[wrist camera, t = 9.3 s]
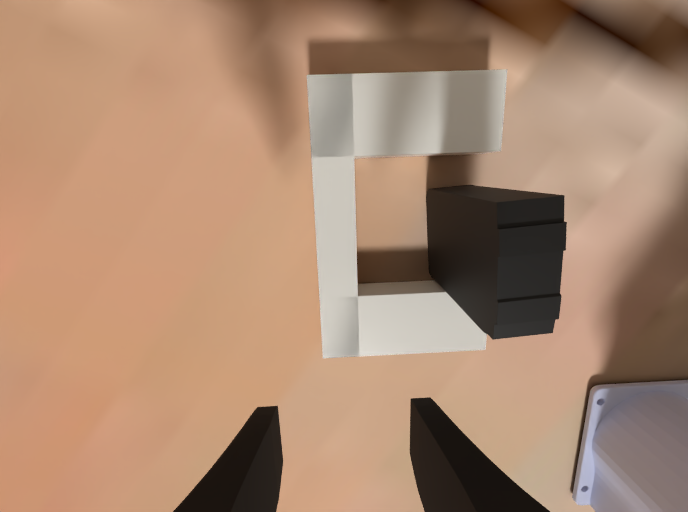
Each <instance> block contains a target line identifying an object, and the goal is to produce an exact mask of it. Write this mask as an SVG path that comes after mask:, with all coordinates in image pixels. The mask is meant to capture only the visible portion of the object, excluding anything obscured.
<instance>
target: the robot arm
mask: <svg viewBox="0 0 688 512" xmlns="http://www.w3.org/2000/svg"><path fill="white" fill-rule="evenodd" d="M598 399H599V400H598ZM410 456H411V461H412V466H413V470H414V475H415V479H416V484H417V488H418V492H419V495H420V498H421V501H422V504H423V507H424V510H425V512H550V511H549V510H547V509H546V508H545V507H544V506H542V505H541V504H540V503H539V502H537V501H536V500H535V499H534V498H532V497H531V496H530V495H529V494H528V493H526V492H525V491H524V490H523V489H522V488H520V487H519V486H518V485H517V484H516V483H515V482H514V481H512V480H511V479H510V478H509V477H508V476H507V475H506V474H505V473H504V472H503V471H501V470H500V469H499V468H498V467H497V466H496V465H495V464H494V463H493V462H492V461H491V460H490V459H489V458H488V457H487V456H486V455H485V454H484V453H483V452H482V451H481V450H480V449H479V448H478V447H477V446H476V445H475V444H474V443H473V442H472V441H471V440H470V439H469V438H468V437H467V436H466V435H465V434H464V433H463V432H462V431H461V430H460V429H459V428H458V427H457V426H456V425H455V424H454V423H453V422H452V420H451V419H450V418H449V417H448V416H447V415H446V414H445V413H444V412H443V411H442V409H441V408H440V407H439V406H438V405H437V404H436V403H435V402H434V401H433V400H432V399H431V398H413V399H411V416H410ZM282 466H283V455H282V445H281V435H280V425H279V415H278V406H270V407H257V409H256V410H255V411H254V412H253V413H252V415H251V416H250V418H249V419H248V420H247V422H246V423H245V425H244V426H243V427H242V429H241V430H240V431H239V433H238V434H237V435H236V437H235V438H234V440H233V441H232V442H231V444H230V445H229V446H228V447H227V449H226V450H225V451H224V452H223V454H222V455H221V456H220V458H219V459H218V460H217V461H216V463H215V464H214V465H213V466H212V468H211V469H210V470H209V471H208V473H207V474H206V475H205V476H204V477H203V478H202V480H201V481H200V482H199V483H198V484H197V485H196V486H195V488H194V489H193V490H192V491H191V492H190V493H189V495H188V496H187V497H186V498H185V499H184V500H183V501H182V503H181V504H180V505H179V506H178V507H177V508H176V509H175V510H174V511H173V512H276V509H277V504H278V500H279V492H280V484H281V475H282ZM572 498H573V500H574V501H575V502H576V504H578V505H591V507H592V508H593V509H594V510H595V512H688V380H677V381H659V382H641V383H622V384H604V385H596V386H594V387H592V389H591V391H590V395H589V401H588V407H587V413H586V418H585V424H584V430H583V436H582V442H581V448H580V454H579V460H578V465H577V471H576V477H575V483H574V489H573V495H572Z"/></svg>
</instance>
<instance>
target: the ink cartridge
mask: <svg viewBox="0 0 688 512" xmlns="http://www.w3.org/2000/svg"><path fill="white" fill-rule="evenodd" d="M426 205H427V235H428V262H429V273H430V275H431V277H432V278H434V280H435V281H436V282H437V283H438V284H439V285H440V286H441V287H442V288H443V289H444V290H445V291H446V292H447V294H448V295H449V296H450V297H451V298H452V299H453V300H454V301H455V302H456V303H457V304H458V305H459V306H460V308H461V309H462V310H463V311H464V312H465V313H466V314H467V315H468V316H469V317H470V318H471V319H472V320H473V322H474V323H475V324H476V325H477V326H478V327H479V328H480V329H481V330H482V331H483V332H484V333H486V334H488V335H489V336H490V337H491V338H492V339H501V338H510V337H519V336H529V335H538V334H547V333H553V328H554V323H555V319H559V313H560V304H561V294H560V284H561V272H562V260H563V251H564V250H566V224H567V222H564V195H555V194H546V193H537V192H528V191H518V190H509V189H500V188H491V187H481V186H473V185H464V186H454V187H444V188H434V189H428V191H427V196H426Z"/></svg>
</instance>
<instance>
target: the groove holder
mask: <svg viewBox="0 0 688 512" xmlns="http://www.w3.org/2000/svg"><path fill="white" fill-rule="evenodd" d="M506 80H507V69H503V70H467V71H431V72H395V73H359V74H323V75H307V88H308V105H309V123H310V140H311V158H312V175H313V193H314V210H315V228H316V245H317V263H318V280H319V298H320V315H321V333H322V350H323V358H337V357H356V356H376V355H395V354H414V353H433V352H453V351H472V350H486V337H487V334H486V333H484V332H483V331H482V330H481V329H480V328H479V327H478V326H477V325H476V324H475V323H474V322H473V320H472V319H471V318H470V317H469V316H468V315H467V314H466V313H465V312H464V311H463V310H462V309H461V308H460V306H459V305H458V304H457V303H456V302H455V301H454V300H453V299H452V298H451V297H450V296H449V295H448V294H447V292H446V291H445V290H444V289H443V288H442V287H441V286H440V285H439V284H438V283H437V282H436V281H435V280H430V281H408V282H386V283H364V284H358V282H357V245H356V207H355V170H354V158H382V157H411V156H440V155H468V154H485V153H492V152H498V151H501V145H502V132H503V119H504V106H505V93H506Z"/></svg>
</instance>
